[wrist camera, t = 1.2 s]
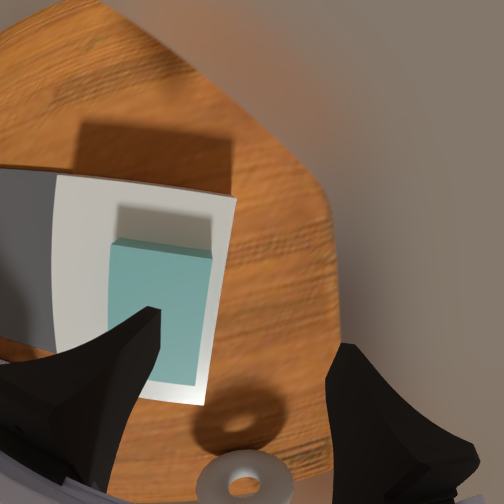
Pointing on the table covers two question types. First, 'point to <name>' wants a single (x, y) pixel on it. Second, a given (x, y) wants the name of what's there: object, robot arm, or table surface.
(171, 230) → the white flat block
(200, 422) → the table surface
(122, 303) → the teal rectangular block
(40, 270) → the mat
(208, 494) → the donut
